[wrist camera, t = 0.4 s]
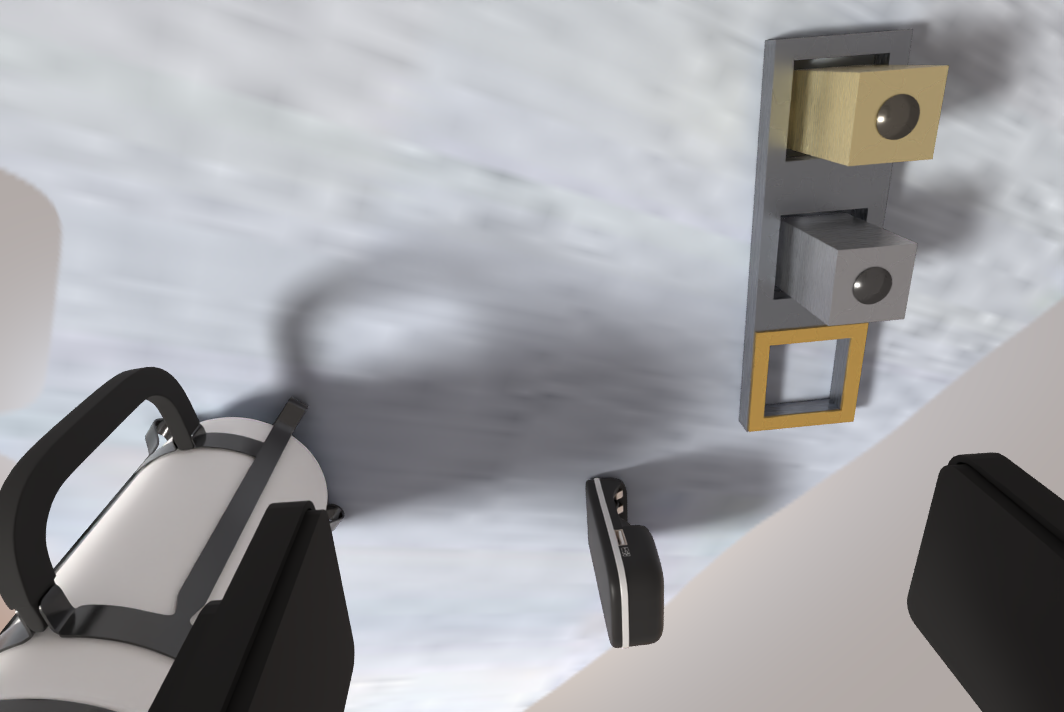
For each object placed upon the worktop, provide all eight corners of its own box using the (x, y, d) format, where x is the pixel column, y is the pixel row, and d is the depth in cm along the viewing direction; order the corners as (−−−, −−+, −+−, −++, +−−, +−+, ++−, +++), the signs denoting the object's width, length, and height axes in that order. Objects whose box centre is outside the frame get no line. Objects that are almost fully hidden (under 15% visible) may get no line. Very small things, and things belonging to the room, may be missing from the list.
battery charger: (634, 540, 54) (670, 656, 43) (588, 545, 54) (613, 662, 43) (633, 469, 51) (671, 575, 40) (584, 474, 51) (610, 581, 40)
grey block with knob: (778, 218, 43) (838, 251, 36) (845, 212, 44) (918, 243, 36) (772, 283, 45) (829, 326, 38) (836, 277, 45) (905, 319, 38)
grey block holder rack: (765, 40, 39) (777, 39, 37) (897, 30, 39) (915, 28, 37) (738, 420, 50) (747, 432, 48) (842, 410, 50) (854, 422, 48)
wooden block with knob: (791, 70, 40) (861, 72, 32) (863, 64, 40) (950, 65, 32) (784, 147, 42) (849, 166, 34) (853, 141, 42) (933, 159, 34)
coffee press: (404, 447, 49) (304, 942, 21) (284, 579, 53) (75, 1132, 26) (189, 307, 43) (-315, 733, 16) (75, 467, 47) (-473, 1019, 20)
